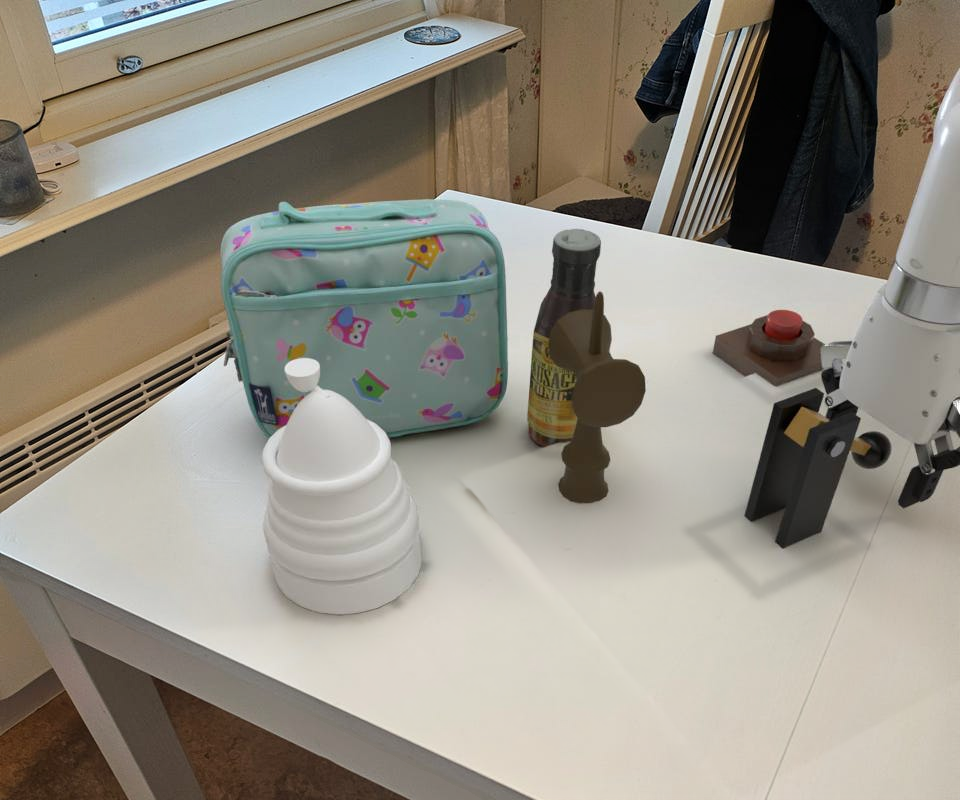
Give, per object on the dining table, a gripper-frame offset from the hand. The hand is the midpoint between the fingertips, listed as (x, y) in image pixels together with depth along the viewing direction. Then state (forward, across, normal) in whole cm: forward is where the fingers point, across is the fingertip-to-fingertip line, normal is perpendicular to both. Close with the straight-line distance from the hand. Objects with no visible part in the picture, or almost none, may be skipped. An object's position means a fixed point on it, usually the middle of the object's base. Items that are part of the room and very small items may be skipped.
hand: (870, 471), depth 80 cm
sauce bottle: (+3, +22, +19) cm, 29 cm away
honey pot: (+3, +16, +44) cm, 47 cm away
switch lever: (-4, 0, +6) cm, 7 cm away
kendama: (+3, +13, +22) cm, 26 cm away
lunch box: (+3, +34, +34) cm, 48 cm away
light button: (0, +22, -9) cm, 24 cm away
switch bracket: (+3, 0, +10) cm, 10 cm away
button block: (+3, +22, -9) cm, 24 cm away
